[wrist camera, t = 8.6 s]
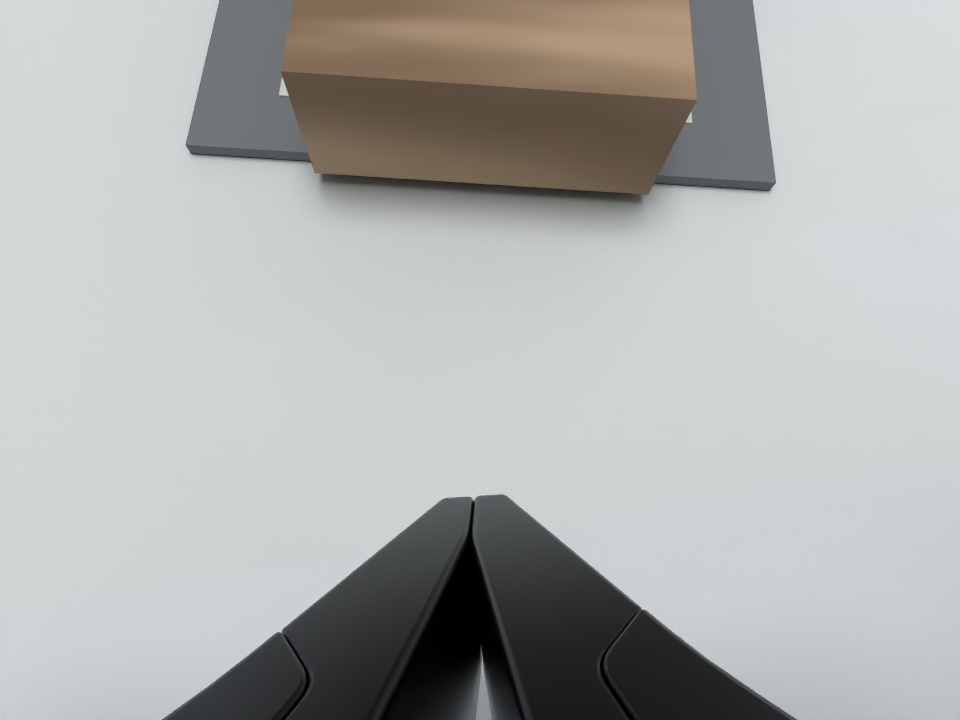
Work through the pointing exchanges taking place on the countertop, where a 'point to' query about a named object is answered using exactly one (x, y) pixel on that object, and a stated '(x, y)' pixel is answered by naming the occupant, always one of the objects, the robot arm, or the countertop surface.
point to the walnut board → (492, 89)
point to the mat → (692, 161)
